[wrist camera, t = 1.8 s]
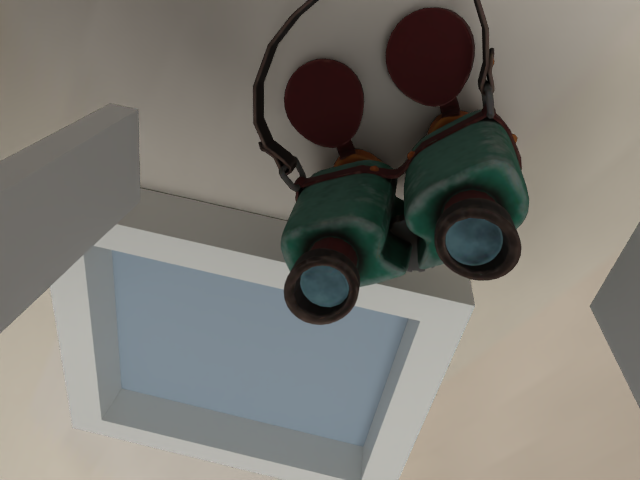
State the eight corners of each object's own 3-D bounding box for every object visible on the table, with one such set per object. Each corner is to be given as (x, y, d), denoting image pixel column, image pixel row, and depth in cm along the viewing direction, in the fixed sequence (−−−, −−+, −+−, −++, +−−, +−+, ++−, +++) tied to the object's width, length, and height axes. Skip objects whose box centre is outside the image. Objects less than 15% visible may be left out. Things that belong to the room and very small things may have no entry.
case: (80, 174, 25) (36, 206, 22) (467, 261, 25) (475, 306, 22) (101, 384, 34) (72, 427, 31) (389, 454, 33) (387, 505, 30)
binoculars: (471, -133, 9) (596, 307, 12) (449, -68, 18) (523, 173, 22) (106, 70, 12) (284, 380, 15) (245, 37, 22) (338, 235, 25)
